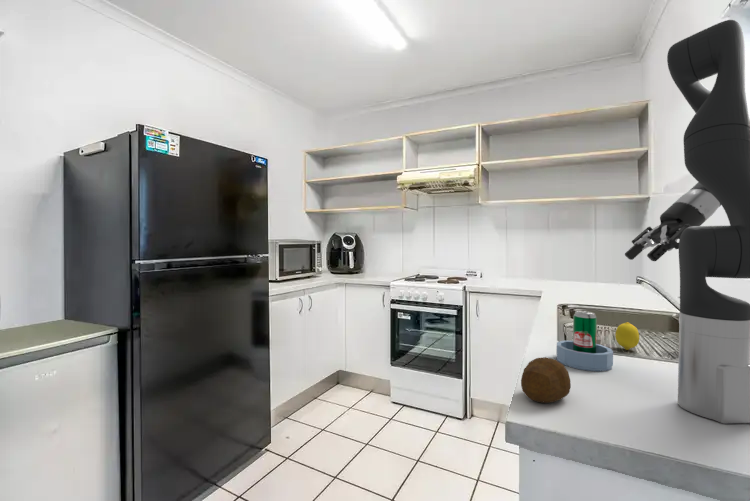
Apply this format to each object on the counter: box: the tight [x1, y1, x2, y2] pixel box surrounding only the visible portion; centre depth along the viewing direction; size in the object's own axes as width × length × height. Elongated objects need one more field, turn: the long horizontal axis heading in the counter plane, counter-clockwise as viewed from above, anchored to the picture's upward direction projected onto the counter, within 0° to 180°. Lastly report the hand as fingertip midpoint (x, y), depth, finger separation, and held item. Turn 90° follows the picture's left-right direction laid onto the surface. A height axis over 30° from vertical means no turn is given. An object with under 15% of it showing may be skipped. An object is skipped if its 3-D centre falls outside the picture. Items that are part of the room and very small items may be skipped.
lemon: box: [614, 322, 640, 351], centre depth 100 cm, size 6×6×8 cm
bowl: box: [555, 340, 614, 372], centre depth 88 cm, size 12×12×4 cm
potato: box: [520, 356, 572, 404], centre depth 68 cm, size 8×12×8 cm, turn 136°
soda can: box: [572, 310, 598, 353], centre depth 88 cm, size 5×5×12 cm
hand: (638, 258), depth 87 cm, fingers open, 8 cm apart
